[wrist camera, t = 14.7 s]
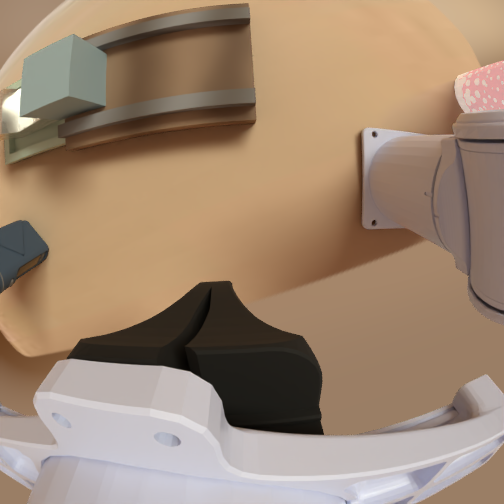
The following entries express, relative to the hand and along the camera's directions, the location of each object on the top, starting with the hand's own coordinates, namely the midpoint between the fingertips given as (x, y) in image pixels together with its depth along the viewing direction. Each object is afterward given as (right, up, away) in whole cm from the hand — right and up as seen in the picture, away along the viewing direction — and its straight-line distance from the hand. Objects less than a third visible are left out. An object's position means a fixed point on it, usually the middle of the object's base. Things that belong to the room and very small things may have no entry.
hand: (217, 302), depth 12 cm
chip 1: (-18, +14, +3) cm, 23 cm away
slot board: (-6, +15, +6) cm, 17 cm away
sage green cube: (-11, +14, +4) cm, 19 cm away
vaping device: (-20, +3, +10) cm, 22 cm away
